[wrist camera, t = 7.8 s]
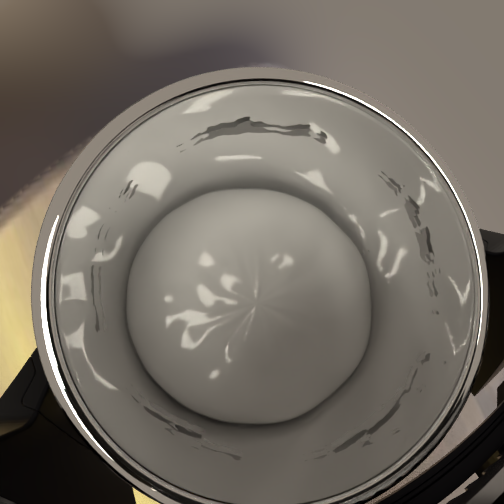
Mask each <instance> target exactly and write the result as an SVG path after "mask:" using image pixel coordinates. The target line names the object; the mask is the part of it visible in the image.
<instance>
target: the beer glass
mask: <svg viewBox="0 0 504 504" xmlns="http://www.w3.org/2000/svg"><path fill="white" fill-rule="evenodd" d="M31 308H32V320H33V328H34V334H35V339H36V344H37V349H38V353H39V356H40V360H41V363H42V367H43V370H44V373H45V375H46V378H47V381H48V383H49V386H50V388H51V390H52V392H53V394H54V397H55V399H56V401H57V402H58V404H59V406H60V408H61V410H62V412H63V413H64V415H65V416H66V418H67V420H68V421H69V423H70V424H71V426H72V427H73V429H74V430H75V432H76V433H77V434H78V436H79V437H80V438H81V439H82V441H83V442H84V443H85V445H86V446H87V447H88V448H89V449H90V450H91V451H92V452H93V454H94V455H95V456H96V457H97V458H98V459H99V460H100V461H101V462H102V463H103V464H104V465H105V466H107V467H108V468H109V469H110V470H111V471H112V472H113V473H115V474H116V475H117V476H118V477H120V478H121V479H122V480H123V481H125V482H126V483H127V484H129V485H130V486H132V487H133V488H135V489H136V490H138V491H139V492H141V493H142V494H144V495H146V496H147V497H149V498H151V499H153V500H155V501H157V502H158V503H160V504H365V503H367V502H369V501H370V500H372V499H374V498H376V497H378V496H379V495H381V494H383V493H384V492H386V491H387V490H389V489H390V488H392V487H393V486H395V485H396V484H398V483H399V482H400V481H402V480H403V479H404V478H405V477H407V476H408V475H409V474H410V473H411V472H412V471H414V470H415V469H416V468H417V467H418V466H419V465H420V464H421V463H422V462H423V461H424V460H425V459H426V458H427V457H428V456H429V455H430V454H431V453H432V452H433V451H434V449H435V448H436V447H437V446H438V445H439V443H440V442H441V441H442V440H443V438H444V437H445V436H446V434H447V433H448V432H449V430H450V429H451V427H452V426H453V424H454V423H455V421H456V419H457V418H458V416H459V414H460V413H461V411H462V409H463V407H464V405H465V403H466V401H467V399H468V397H469V395H470V393H471V391H472V388H473V386H474V383H475V381H476V378H477V375H478V372H479V369H480V366H481V362H482V359H483V355H484V351H485V346H486V341H487V335H488V328H489V318H490V282H489V272H488V265H487V259H486V253H485V249H484V245H483V241H482V237H481V234H480V230H479V227H478V225H477V222H476V219H475V216H474V214H473V211H472V209H471V206H470V204H469V202H468V200H467V198H466V196H465V194H464V192H463V190H462V188H461V186H460V185H459V183H458V181H457V180H456V178H455V176H454V175H453V173H452V172H451V170H450V169H449V167H448V166H447V164H446V163H445V162H444V160H443V159H442V158H441V156H440V155H439V154H438V153H437V151H436V150H435V149H434V148H433V147H432V146H431V144H430V143H429V142H428V141H427V140H426V139H425V138H424V137H423V136H422V135H421V134H420V133H419V132H418V131H417V130H416V129H415V128H413V126H411V125H410V124H409V123H408V122H407V121H405V120H404V119H403V118H402V117H401V116H399V115H398V114H397V113H395V112H394V111H393V110H391V109H390V108H388V107H387V106H385V105H384V104H382V103H381V102H379V101H377V100H376V99H374V98H372V97H370V96H369V95H367V94H365V93H363V92H361V91H359V90H357V89H355V88H353V87H350V86H348V85H346V84H343V83H341V82H338V81H335V80H332V79H329V78H326V77H323V76H319V75H315V74H312V73H307V72H302V71H297V70H291V69H283V68H272V67H244V68H233V69H225V70H219V71H213V72H208V73H205V74H200V75H196V76H193V77H190V78H187V79H184V80H181V81H178V82H176V83H173V84H171V85H168V86H166V87H164V88H162V89H160V90H157V91H156V92H154V93H152V94H150V95H148V96H146V97H144V98H143V99H141V100H139V101H138V102H136V103H135V104H133V105H132V106H130V107H129V108H127V109H126V110H124V111H123V112H122V113H121V114H119V115H118V116H117V117H115V118H114V119H113V120H112V121H111V122H109V124H107V125H106V126H105V127H104V128H103V129H102V130H101V131H100V132H99V133H98V134H97V135H96V136H95V137H94V138H93V139H92V140H91V141H90V142H89V143H88V144H87V145H86V147H85V148H84V149H83V150H82V152H81V153H80V154H79V155H78V157H77V158H76V159H75V161H74V162H73V163H72V165H71V166H70V168H69V169H68V171H67V173H66V174H65V176H64V177H63V179H62V181H61V183H60V184H59V186H58V188H57V190H56V192H55V194H54V196H53V198H52V200H51V203H50V205H49V207H48V210H47V212H46V215H45V218H44V221H43V224H42V227H41V230H40V234H39V237H38V241H37V246H36V250H35V256H34V262H33V270H32V283H31Z"/></svg>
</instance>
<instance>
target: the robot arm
mask: <svg viewBox="0 0 504 504" xmlns="http://www.w3.org/2000/svg"><path fill="white" fill-rule="evenodd" d="M479 230H480V234H481V237H482V241H483V245H484V249H485V253H486V259H487V265H488V272H489V282H490V318H489V328H488V335H487V341H486V346H485V351H484V355H483V359H482V362H481V366H480V369H479V372H478V375H477V378H476V381H475V383H474V386H473V388H472V391H471V393H472V394H473V395H474V396H475V395H476V394H478V393H479V392H480V391H481V390H482V389H483V388H484V387H485V386H486V385H487V384H488V383H489V382H490V381H491V380H492V379H493V378H494V377H495V376H496V375H497V374H498V373H499V372H500V371H501V370H502V368H503V367H504V234H500V233H495V232H491V231H487V230H483V229H479ZM474 473H476V474H477V476H478V477H479V478H478V479H477V480H475V481H474V482H472V483H471V484H469V485H468V486H467V487H466V488H465V490H466V492H464V493H463V494H461V495H459V496H458V497H456V498H454V499H452V500H450V501H449V502H448V503H447V504H504V381H503V382H502V383H501V385H500V386H499V387H498V388H497V408H496V409H495V410H494V411H493V412H492V413H491V414H490V415H489V416H488V417H487V418H486V419H485V420H484V421H483V422H482V423H481V424H480V425H479V426H478V427H477V428H476V429H475V430H474V431H473V432H472V433H471V434H470V435H469V436H467V437H466V438H465V439H464V440H463V441H462V442H461V443H460V444H458V445H457V446H456V447H455V448H454V449H452V450H451V451H450V452H449V453H448V454H446V455H445V456H444V457H443V458H441V459H440V460H439V461H437V462H436V463H435V464H434V465H432V466H431V467H430V468H428V469H427V470H425V471H424V472H423V473H421V474H420V475H418V476H417V477H416V478H414V479H413V480H411V481H410V482H408V483H407V484H405V485H404V486H402V487H400V488H399V489H397V490H396V491H394V492H392V493H391V494H389V495H387V496H386V497H384V498H382V499H381V500H379V501H377V502H375V503H373V504H438V503H439V502H441V501H442V500H443V499H444V498H446V497H447V496H448V495H450V494H451V493H452V492H453V491H454V490H456V489H457V488H458V487H459V486H460V485H461V484H463V483H464V482H465V481H466V480H467V479H468V478H469V477H470V476H472V475H473V474H474ZM0 504H136V501H135V497H134V493H133V488H132V486H130V485H129V484H127V483H126V482H125V481H123V480H122V479H121V478H120V477H118V476H117V475H116V474H115V473H113V472H112V471H111V470H110V469H109V468H108V467H107V466H105V465H104V464H103V463H102V462H101V461H100V460H99V459H98V458H97V457H96V456H95V455H94V454H93V452H92V451H91V450H90V449H89V448H88V447H87V446H86V445H85V443H84V442H83V441H82V439H81V438H80V437H79V436H78V434H77V433H76V432H75V430H74V429H73V427H72V426H71V424H70V423H69V421H68V420H67V418H66V416H65V415H64V413H63V412H62V410H61V408H60V406H59V404H58V402H57V401H56V399H55V397H54V394H53V392H52V390H51V388H50V386H49V383H48V381H47V378H46V375H45V373H44V370H43V367H42V363H41V360H40V356H39V353H38V349H37V348H36V349H35V350H34V352H33V353H32V355H31V357H29V359H28V360H27V362H26V363H25V365H24V366H23V368H22V369H21V370H20V372H19V373H18V375H17V376H16V378H15V379H14V380H13V382H12V383H11V384H10V386H9V387H8V388H7V390H6V391H5V392H4V394H3V395H2V397H1V398H0Z"/></svg>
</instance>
